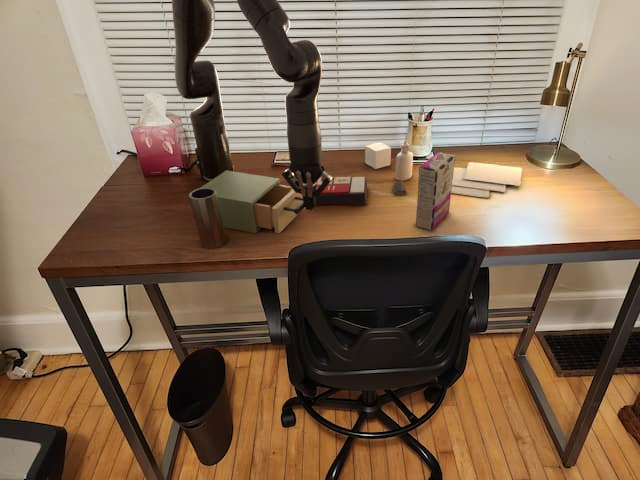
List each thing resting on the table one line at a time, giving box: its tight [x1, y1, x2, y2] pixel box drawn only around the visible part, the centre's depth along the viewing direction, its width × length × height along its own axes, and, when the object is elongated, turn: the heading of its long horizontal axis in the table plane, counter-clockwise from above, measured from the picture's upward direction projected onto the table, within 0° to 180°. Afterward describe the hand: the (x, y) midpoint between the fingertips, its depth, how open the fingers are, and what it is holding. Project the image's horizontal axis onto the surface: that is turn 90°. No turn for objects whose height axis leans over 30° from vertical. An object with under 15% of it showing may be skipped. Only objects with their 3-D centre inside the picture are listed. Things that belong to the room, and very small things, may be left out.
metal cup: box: [188, 187, 227, 249], centre depth 103 cm, size 6×6×13 cm
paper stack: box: [451, 161, 523, 199], centre depth 134 cm, size 23×25×1 cm
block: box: [392, 180, 407, 196], centre depth 128 cm, size 4×6×2 cm, turn 0°
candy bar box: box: [415, 151, 456, 232], centre depth 110 cm, size 11×5×16 cm, turn 148°
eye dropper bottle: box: [394, 139, 414, 182], centre depth 132 cm, size 4×6×12 cm
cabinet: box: [198, 170, 282, 234], centre depth 115 cm, size 17×15×9 cm
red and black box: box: [316, 176, 368, 206], centre depth 125 cm, size 11×4×15 cm
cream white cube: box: [364, 141, 392, 170], centre depth 143 cm, size 6×6×6 cm
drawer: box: [253, 184, 305, 234], centre depth 112 cm, size 20×13×7 cm
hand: (310, 208), depth 109 cm, fingers closed
